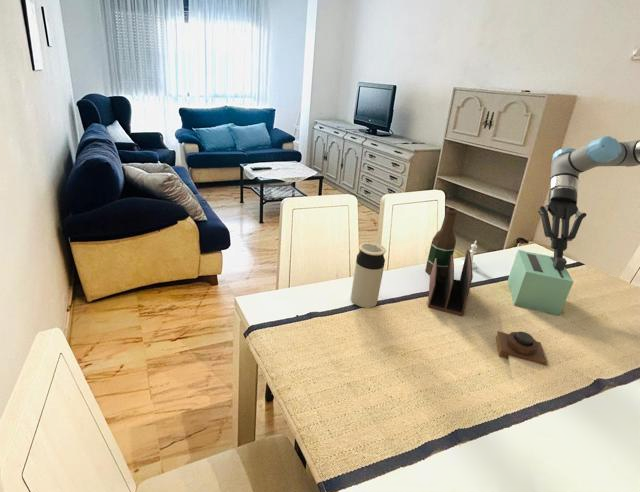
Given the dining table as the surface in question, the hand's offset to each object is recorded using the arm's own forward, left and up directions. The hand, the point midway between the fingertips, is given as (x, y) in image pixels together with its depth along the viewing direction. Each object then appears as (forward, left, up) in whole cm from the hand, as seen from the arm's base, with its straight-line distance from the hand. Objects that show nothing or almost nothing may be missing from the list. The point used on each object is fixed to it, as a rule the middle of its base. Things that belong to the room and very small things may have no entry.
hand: (558, 258), depth 118 cm
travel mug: (+52, +28, -14) cm, 61 cm away
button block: (+11, +33, -14) cm, 38 cm away
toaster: (+3, +1, -14) cm, 15 cm away
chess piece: (+21, -13, -14) cm, 29 cm away
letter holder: (+29, +13, -14) cm, 35 cm away
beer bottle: (+32, -1, -14) cm, 36 cm away
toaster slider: (0, +2, -2) cm, 3 cm away
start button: (+11, +33, -11) cm, 37 cm away
